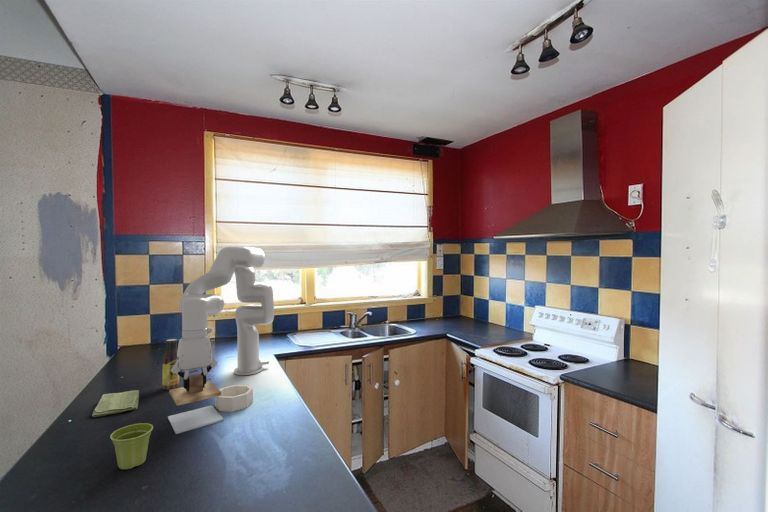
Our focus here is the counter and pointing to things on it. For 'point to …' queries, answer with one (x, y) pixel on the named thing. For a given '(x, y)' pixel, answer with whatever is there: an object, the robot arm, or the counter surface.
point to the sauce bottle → (170, 366)
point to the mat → (194, 419)
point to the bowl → (234, 398)
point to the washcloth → (116, 403)
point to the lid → (194, 391)
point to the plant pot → (131, 444)
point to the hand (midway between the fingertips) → (194, 387)
